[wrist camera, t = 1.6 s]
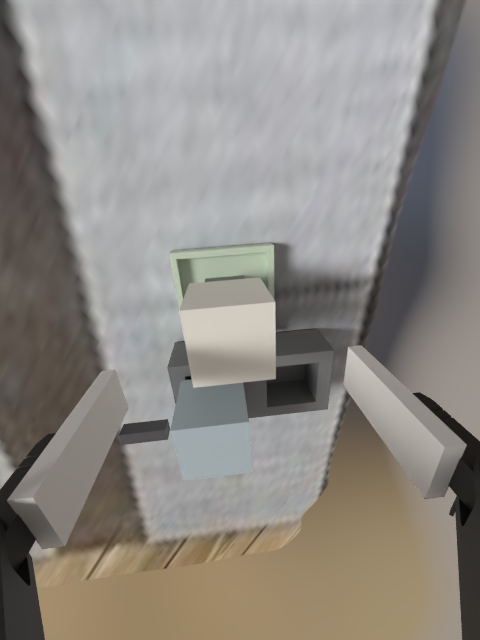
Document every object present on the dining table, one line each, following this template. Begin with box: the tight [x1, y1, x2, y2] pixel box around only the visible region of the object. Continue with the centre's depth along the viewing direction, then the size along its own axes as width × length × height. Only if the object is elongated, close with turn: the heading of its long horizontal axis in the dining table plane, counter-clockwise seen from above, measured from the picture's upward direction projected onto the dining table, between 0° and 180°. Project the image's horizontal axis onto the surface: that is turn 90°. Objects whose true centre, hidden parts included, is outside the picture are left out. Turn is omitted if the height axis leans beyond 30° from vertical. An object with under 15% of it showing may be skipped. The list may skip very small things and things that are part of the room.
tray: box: [169, 243, 274, 310], centre depth 26 cm, size 10×10×2 cm
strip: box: [119, 329, 334, 481], centre depth 26 cm, size 8×21×12 cm, turn 94°
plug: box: [179, 275, 276, 388], centre depth 22 cm, size 6×6×11 cm
